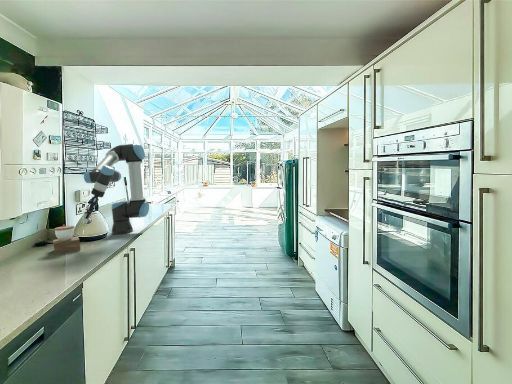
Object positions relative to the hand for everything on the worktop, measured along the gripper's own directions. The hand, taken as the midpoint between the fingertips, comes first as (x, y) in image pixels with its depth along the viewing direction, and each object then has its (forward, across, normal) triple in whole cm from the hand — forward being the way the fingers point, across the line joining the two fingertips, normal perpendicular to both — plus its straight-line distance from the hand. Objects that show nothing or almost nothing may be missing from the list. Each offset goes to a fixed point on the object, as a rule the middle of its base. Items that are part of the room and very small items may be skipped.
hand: (85, 220), depth 248 cm
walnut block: (+21, -4, +3) cm, 21 cm away
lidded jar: (+15, -4, +6) cm, 16 cm away
